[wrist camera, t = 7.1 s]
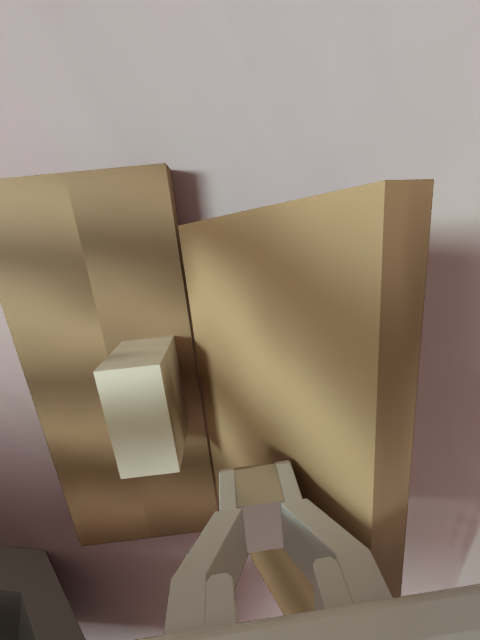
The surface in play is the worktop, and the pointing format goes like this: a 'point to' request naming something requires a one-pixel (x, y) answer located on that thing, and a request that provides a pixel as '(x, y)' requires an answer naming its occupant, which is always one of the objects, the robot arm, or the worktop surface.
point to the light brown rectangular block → (109, 347)
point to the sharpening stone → (33, 599)
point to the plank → (317, 355)
